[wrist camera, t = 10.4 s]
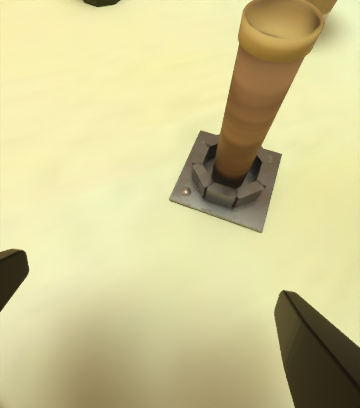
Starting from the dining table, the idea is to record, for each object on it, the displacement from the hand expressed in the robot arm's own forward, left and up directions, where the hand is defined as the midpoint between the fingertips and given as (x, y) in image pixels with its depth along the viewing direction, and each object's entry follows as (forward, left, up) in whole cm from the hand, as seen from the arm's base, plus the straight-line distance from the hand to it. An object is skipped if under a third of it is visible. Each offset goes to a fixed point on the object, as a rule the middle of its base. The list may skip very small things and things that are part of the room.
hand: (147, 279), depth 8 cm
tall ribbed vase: (-1, -14, -13) cm, 19 cm away
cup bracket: (-1, -14, -14) cm, 19 cm away
